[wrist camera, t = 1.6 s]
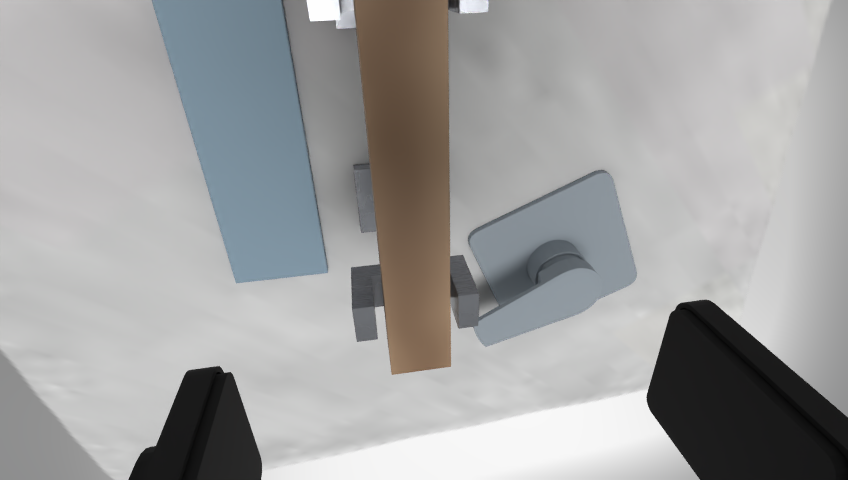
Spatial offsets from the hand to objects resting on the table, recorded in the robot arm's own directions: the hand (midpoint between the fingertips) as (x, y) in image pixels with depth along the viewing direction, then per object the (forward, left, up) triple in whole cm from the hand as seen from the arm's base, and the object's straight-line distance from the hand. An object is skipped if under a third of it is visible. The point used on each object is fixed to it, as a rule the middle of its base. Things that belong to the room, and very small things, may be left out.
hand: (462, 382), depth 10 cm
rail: (0, 0, -13) cm, 13 cm away
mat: (+9, 0, -25) cm, 26 cm away
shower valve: (-13, +15, -25) cm, 32 cm away
